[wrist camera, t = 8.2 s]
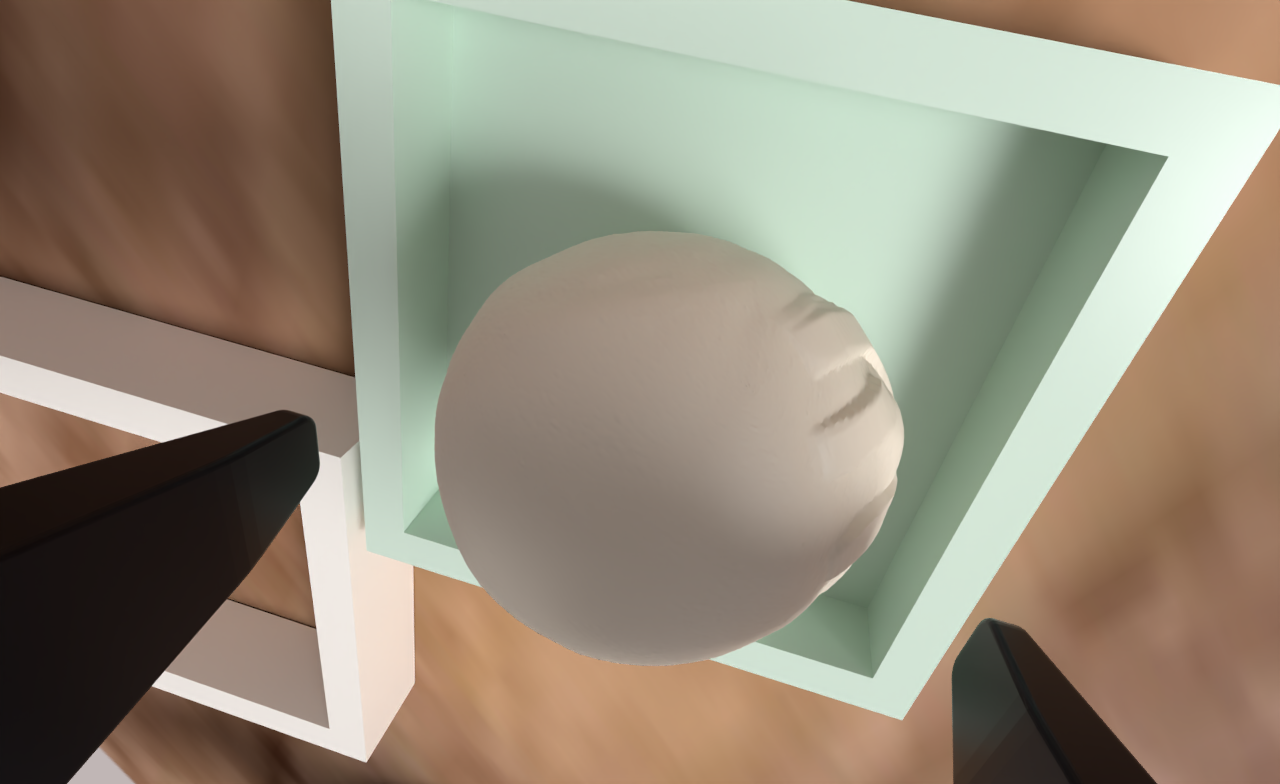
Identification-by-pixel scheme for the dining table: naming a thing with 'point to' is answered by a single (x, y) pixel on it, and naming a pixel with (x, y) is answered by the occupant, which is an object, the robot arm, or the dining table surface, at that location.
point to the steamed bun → (663, 447)
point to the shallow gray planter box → (331, 509)
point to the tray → (791, 242)
